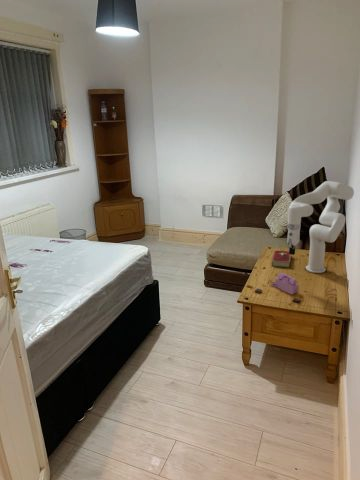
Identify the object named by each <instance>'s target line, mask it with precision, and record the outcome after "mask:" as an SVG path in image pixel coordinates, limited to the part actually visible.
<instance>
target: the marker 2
mask: <svg viewBox="0 0 360 480" xmlns="http://www.w3.org/2000/svg"><path fill="white" fill-rule="evenodd" d="M300 301H301V299H300V298H298V297H294V298H293V299H292V302H293V303H297V304H298V303H300Z"/></svg>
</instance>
